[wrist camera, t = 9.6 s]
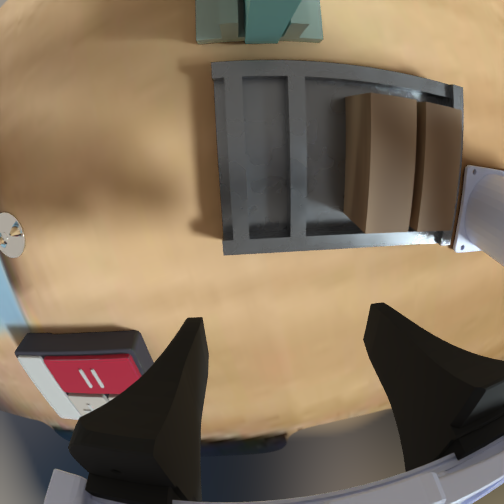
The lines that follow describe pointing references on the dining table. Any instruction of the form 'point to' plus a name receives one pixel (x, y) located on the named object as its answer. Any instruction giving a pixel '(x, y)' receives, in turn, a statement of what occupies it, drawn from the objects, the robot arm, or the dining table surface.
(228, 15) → the stand
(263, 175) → the rack
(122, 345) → the black red box
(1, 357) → the dining table surface
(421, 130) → the offcut
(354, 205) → the offcut
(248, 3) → the teal flat block
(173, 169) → the dining table surface
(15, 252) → the wineglass
